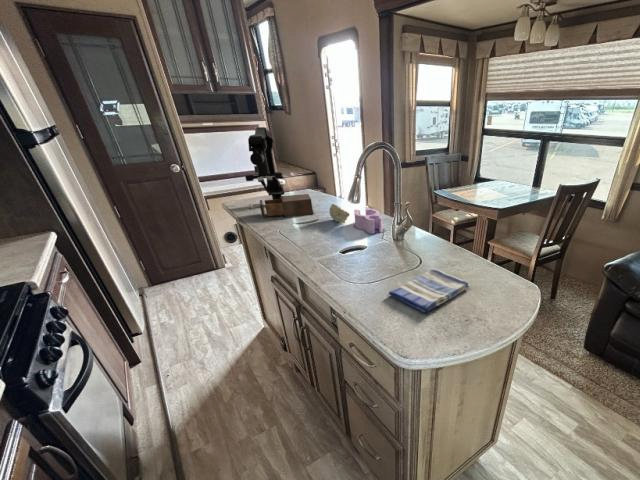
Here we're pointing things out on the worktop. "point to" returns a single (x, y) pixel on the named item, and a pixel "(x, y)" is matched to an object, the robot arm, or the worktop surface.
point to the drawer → (270, 207)
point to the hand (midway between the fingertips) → (268, 192)
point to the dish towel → (429, 290)
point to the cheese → (338, 214)
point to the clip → (369, 220)
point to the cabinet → (297, 205)
